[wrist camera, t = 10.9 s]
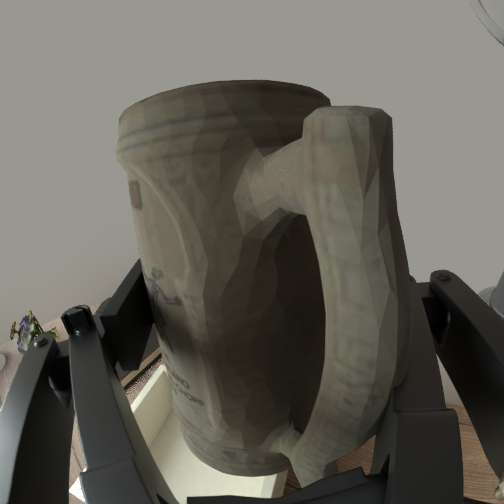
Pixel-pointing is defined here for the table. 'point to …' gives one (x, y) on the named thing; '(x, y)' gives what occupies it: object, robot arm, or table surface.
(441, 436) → the robot arm
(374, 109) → the beer stein
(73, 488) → the open storage bin
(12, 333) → the passion flower
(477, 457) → the table surface
